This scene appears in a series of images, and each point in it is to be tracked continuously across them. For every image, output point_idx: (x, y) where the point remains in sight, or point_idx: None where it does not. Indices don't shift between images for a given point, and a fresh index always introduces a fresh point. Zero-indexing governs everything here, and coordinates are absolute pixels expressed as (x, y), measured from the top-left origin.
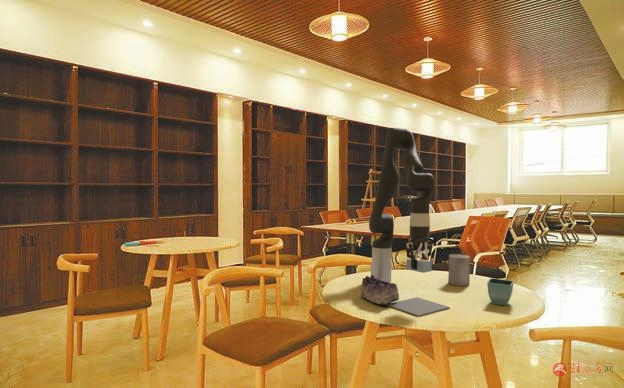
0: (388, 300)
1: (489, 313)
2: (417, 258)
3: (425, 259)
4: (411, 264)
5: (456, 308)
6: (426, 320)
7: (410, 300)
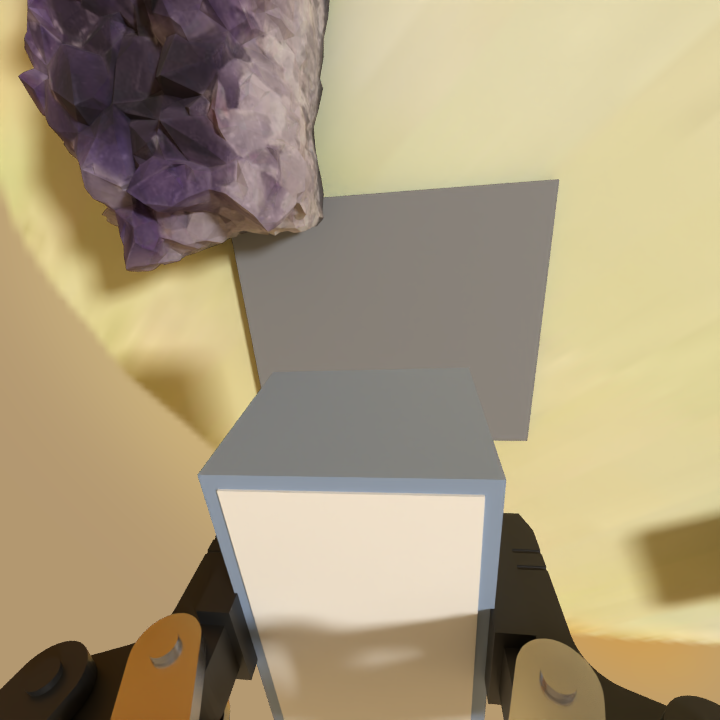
0: (198, 250)
1: (609, 561)
2: (447, 564)
3: (486, 681)
4: (213, 547)
5: (558, 451)
6: None
7: (437, 223)
